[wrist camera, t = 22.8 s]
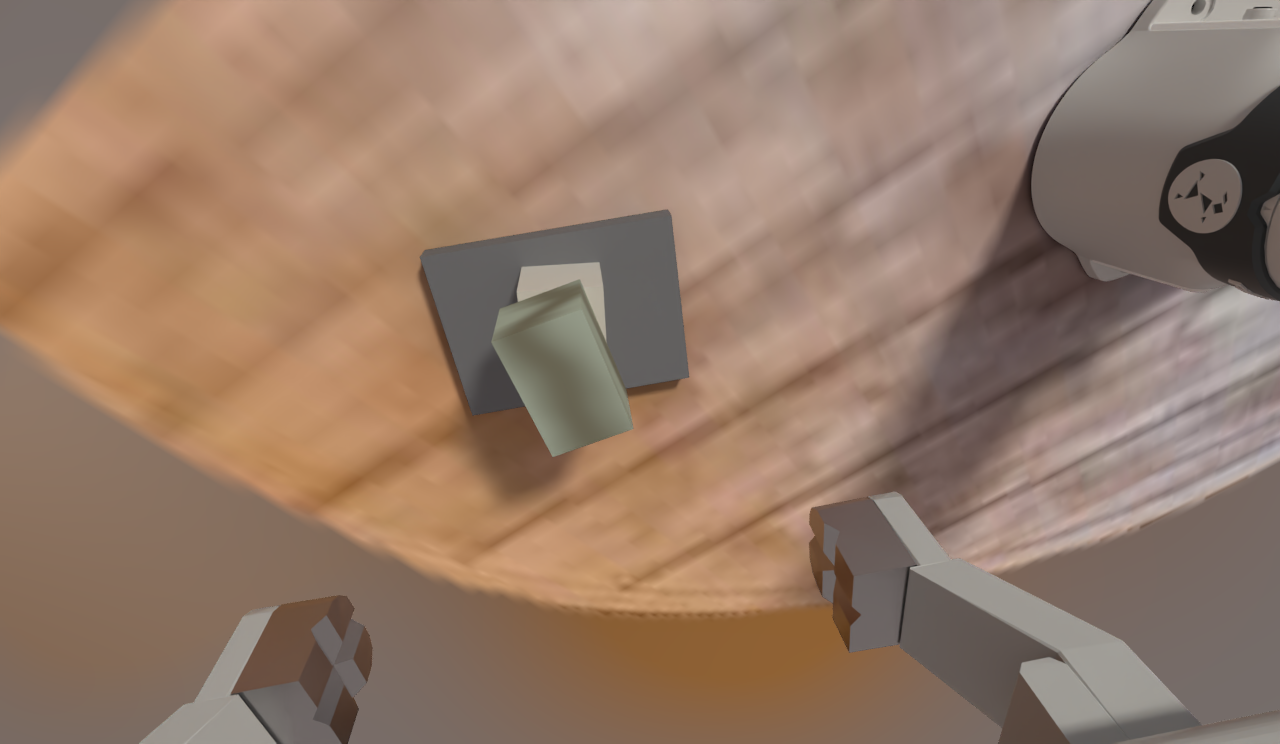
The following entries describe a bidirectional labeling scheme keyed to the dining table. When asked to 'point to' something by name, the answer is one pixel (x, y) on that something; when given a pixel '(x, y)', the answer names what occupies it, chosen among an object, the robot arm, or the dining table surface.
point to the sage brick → (563, 368)
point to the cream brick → (557, 275)
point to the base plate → (624, 247)
